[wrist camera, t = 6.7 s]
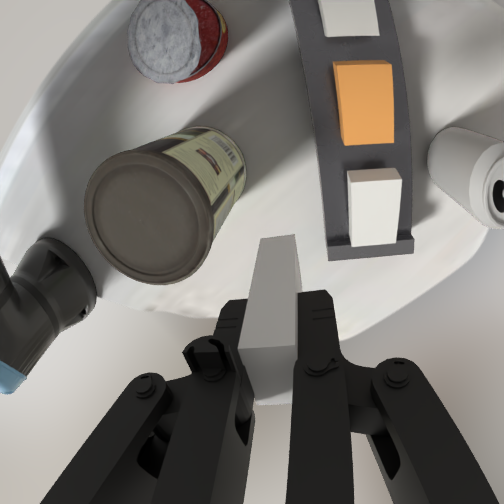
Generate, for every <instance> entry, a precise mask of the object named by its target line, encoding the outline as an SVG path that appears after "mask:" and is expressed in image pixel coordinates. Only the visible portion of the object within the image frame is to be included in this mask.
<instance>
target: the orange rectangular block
mask: <svg viewBox="0 0 504 504" xmlns="http://www.w3.org/2000/svg"><path fill="white" fill-rule="evenodd" d="M333 68H334V75H335V83H336V91H337V100H338V109H339V119H340V130H341V138H342V140H343V143H344V145H345V146H347V145H362V144H381V143H394V97H393V76H392V64H390V63H388V62H387V61H385V60H355V61H335V62H333Z"/></svg>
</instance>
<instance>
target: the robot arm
mask: <svg viewBox="0 0 504 504" xmlns="http://www.w3.org/2000/svg"><path fill="white" fill-rule="evenodd" d="M96 298H97V297H96V289H95V285H94V282H93V279H92V277H91V275H90V273H89V271H88V269H87V267H86V266H85V264H84V263H83V262H82V260H81V259H80V258H79V257H78V256H77V255H76V253H75V252H74V251H72V250H71V249H70V248H69V247H68V246H66V245H65V244H63V243H62V242H60V241H57V240H55V239H51V238H44V239H41V240H39V241H37V242H36V243H35V244H33V245H32V246H31V247H30V248H29V249H28V250H27V251H26V253H25V255H24V256H23V258H22V260H21V262H20V263H19V265H18V267H17V269H16V270H15V272H14V274H13V275H12V276H11V277H9V275H8V273H7V271H6V268H5V266H4V264H3V261H2V259H1V256H0V393H2V394H12V393H13V392H14V391H15V390H16V389H17V388H18V387H19V386H20V385H21V383H22V382H23V381H24V380H26V379H27V375H28V374H29V373H30V371H31V370H32V369H33V367H34V366H35V365H36V363H37V362H38V361H39V359H40V358H41V357H42V355H43V354H44V352H45V351H46V350H47V348H48V347H49V346H50V345H51V343H52V342H53V341H54V340H55V338H56V337H57V336H58V334H59V333H60V332H62V331H64V330H66V329H68V328H70V327H71V326H73V325H75V324H77V323H79V322H80V321H82V320H84V319H85V318H86V317H87V316H88V315H89V313H90V312H91V311H92V310H93V309H94V307H95V304H96ZM182 353H183V355H184V357H185V359H186V361H187V363H188V365H189V367H190V369H191V371H192V374H191V375H188V376H185V377H182V378H178V379H174V380H170V381H165V380H164V378H163V377H162V376H161V375H159V374H157V373H145V374H141V375H139V376H138V377H136V378H134V379H133V380H132V381H131V382H130V383H129V384H128V386H127V387H126V388H125V390H124V391H123V392H122V394H121V395H120V396H119V397H118V399H117V400H116V402H115V403H114V404H113V405H112V407H111V408H110V409H109V411H108V412H107V413H106V415H105V416H104V417H103V419H102V420H101V421H100V423H99V424H98V425H97V427H96V428H95V429H94V431H93V432H92V433H91V435H90V436H89V437H88V439H87V440H86V441H85V443H84V444H83V445H82V447H81V448H80V449H79V451H78V452H77V453H76V455H75V456H74V457H73V459H72V460H71V462H70V463H69V464H68V466H67V467H66V468H65V470H64V471H63V472H62V474H61V475H60V477H59V478H58V479H57V481H56V482H55V484H54V485H53V486H52V488H51V489H50V490H49V492H48V493H47V494H46V496H45V497H44V499H43V500H42V501H41V503H40V504H243V502H244V495H245V488H246V482H247V475H248V468H249V461H250V454H251V447H252V440H253V433H254V425H255V414H254V411H253V409H252V408H253V402H254V398H255V401H256V403H257V405H274V404H292V415H291V434H290V450H289V465H288V479H287V493H286V503H285V504H354V483H353V461H352V445H351V432H355V433H361V434H366V437H367V439H368V442H369V444H370V446H371V449H372V451H373V454H374V456H375V459H376V461H377V463H378V466H379V468H380V471H381V473H382V476H383V478H384V481H385V483H386V486H387V488H388V491H389V493H390V496H391V498H392V501H393V503H394V504H499V502H498V500H497V498H496V496H495V494H494V492H493V490H492V488H491V487H490V485H489V483H488V481H487V479H486V477H485V475H484V473H483V472H482V470H481V468H480V466H479V464H478V462H477V461H476V459H475V457H474V455H473V453H472V452H471V450H470V448H469V446H468V445H467V443H466V441H465V440H464V438H463V436H462V435H461V433H460V431H459V429H458V428H457V426H456V424H455V423H454V421H453V420H452V418H451V417H450V415H449V413H448V412H447V410H446V409H445V407H444V405H443V403H442V402H441V400H440V399H439V397H438V396H437V394H436V393H435V391H434V389H433V388H432V386H431V385H430V384H429V382H428V380H427V379H426V377H425V376H424V374H423V373H422V371H421V370H420V368H419V367H418V366H417V365H416V364H415V363H414V362H412V361H410V360H408V359H405V358H391V359H386V360H385V361H383V362H381V363H379V364H378V365H377V367H376V368H370V367H362V366H358V365H355V364H353V363H350V362H349V361H348V360H346V359H345V358H344V356H343V355H342V353H341V350H340V345H339V338H338V331H337V324H336V318H335V311H334V304H333V298H332V297H331V295H330V294H329V293H328V292H327V291H326V290H317V291H308V292H302V282H301V274H300V267H299V260H298V253H297V247H296V240H295V234H293V235H285V236H277V237H270V238H262V239H260V244H259V249H258V254H257V258H256V263H255V268H254V273H253V278H252V283H251V287H250V292H249V297H248V299H238V300H229V301H228V302H227V303H226V304H225V306H224V307H223V308H222V309H221V311H220V315H219V318H218V322H217V325H216V329H215V331H214V334H213V336H212V335H209V336H204V337H200V338H198V339H196V340H193V341H192V342H191V343H189V344H188V345H187V346H186V347H185V349H184V350H183V352H182Z"/></svg>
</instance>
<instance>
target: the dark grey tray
mask: <svg viewBox="0 0 504 504" xmlns="http://www.w3.org/2000/svg"><path fill="white" fill-rule="evenodd" d="M289 3H290V7H291V12H292V16H293V20H294V25H295V29H296V34H297V39H298V44H299V49H300V54H301V59H302V64H303V69H304V75H305V80H306V86H307V92H308V98H309V104H310V111H311V117H312V124H313V131H314V138H315V145H316V153H317V161H318V169H319V177H320V186H321V196H322V206H323V217H324V228H325V240H326V248H327V255H328V261H336V260H348V259H359V258H370V257H381V256H392V255H403V254H413V253H414V238H413V236H412V235H411V223H412V157H411V138H410V124H409V113H408V103H407V94H406V87H405V79H404V73H403V66H402V60H401V55H400V49H399V44H398V39H397V34H396V29H395V25H394V21H393V16H392V12H391V8H390V5H389V1H388V0H374V3H375V9H376V15H377V21H378V28H379V35H380V36H337V37H326V36H325V34H324V29H323V23H322V18H321V13H320V8H319V4H318V0H289ZM355 60H385V61H387V62H388V63H390V64H392V76H393V97H394V143H381V144H362V145H347V146H345V145H344V143H343V140H342V138H341V130H340V119H339V109H338V100H337V91H336V83H335V75H334V68H333V62H335V61H355ZM382 168H396V170H397V172H398V173H399V175H400V177H401V178H402V187H401V199H400V210H399V220H398V229H397V237H396V243H392V244H381V245H369V246H358V247H352V246H351V241H350V236H349V207H348V179H347V171H352V170H366V169H382Z"/></svg>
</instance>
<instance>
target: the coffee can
mask: <svg viewBox="0 0 504 504" xmlns="http://www.w3.org/2000/svg"><path fill="white" fill-rule="evenodd" d="M245 182H246V165H245V161H244V158H243V155H242V153H241V151H240V150H239V148H238V146H237V145H236V144H235V143H234V142H233V141H232V140H231V139H230V138H229V137H228V136H227V135H225V134H224V133H222V132H220V131H218V130H216V129H213V128H209V127H201V126H200V127H190V128H186V129H184V130H181V131H179V132H177V133H175V134H172V135H169V136H166V137H164V138H161V139H159V140H156V141H153V142H150V143H148V144H146V145H143V146H140V147H138V148H136V149H133V150H128V151H124V152H121V153H118V154H116V155H114V156H112V157H110V158H108V159H107V160H106V161H104V162H103V163H102V164H101V165H100V166H99V167H98V168H97V169H96V170H95V172H94V173H93V175H92V176H91V178H90V180H89V183H88V185H87V189H86V193H85V199H84V214H85V220H86V225H87V228H88V231H89V234H90V236H91V238H92V240H93V242H94V244H95V246H96V247H97V249H98V250H99V252H100V253H101V254H102V256H103V257H104V258H105V259H106V260H107V261H108V262H109V263H110V264H111V265H112V266H113V267H114V268H115V269H117V270H118V271H119V272H121V273H123V274H124V275H126V276H127V277H129V278H131V279H134V280H136V281H139V282H142V283H146V284H151V285H168V284H174V283H177V282H180V281H182V280H184V279H186V278H188V277H190V276H191V275H192V274H194V273H195V272H196V271H197V270H198V269H199V268H200V266H201V265H202V264H203V262H204V261H205V259H206V257H207V255H208V253H209V251H210V249H211V245H212V242H213V240H214V239H215V237H216V235H217V233H218V232H219V230H220V228H221V226H222V225H223V223H224V221H225V219H226V218H227V216H228V214H229V212H230V211H231V209H232V207H233V205H234V204H235V202H236V201H237V200H238V198H239V197H240V195H241V193H242V191H243V189H244V185H245Z"/></svg>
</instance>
